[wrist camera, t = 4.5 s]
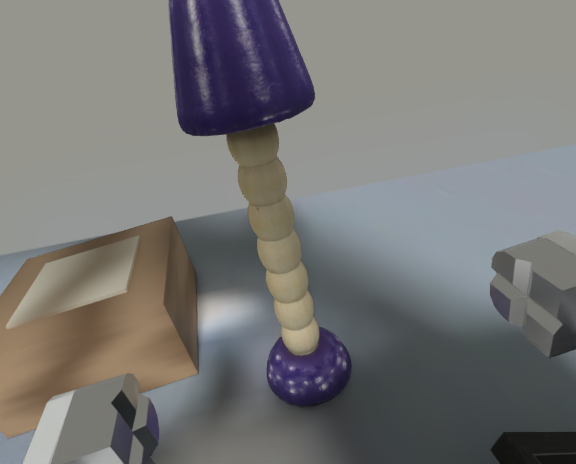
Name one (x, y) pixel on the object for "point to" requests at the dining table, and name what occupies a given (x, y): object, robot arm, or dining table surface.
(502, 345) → the dining table surface
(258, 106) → the toy lamp
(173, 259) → the cardboard box
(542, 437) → the calculator
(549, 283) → the robot arm
